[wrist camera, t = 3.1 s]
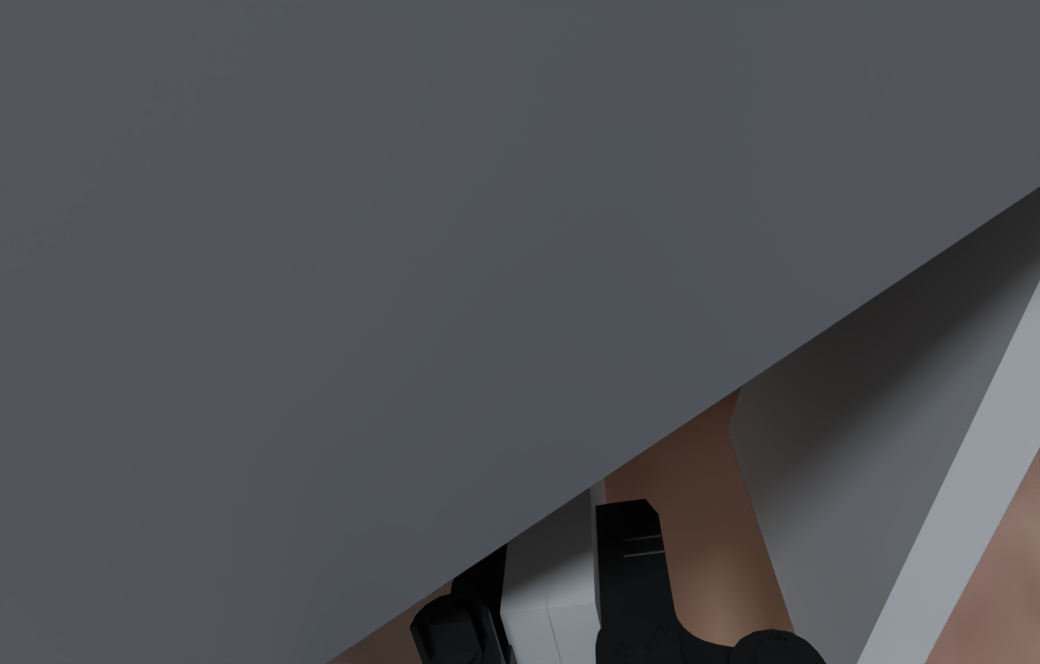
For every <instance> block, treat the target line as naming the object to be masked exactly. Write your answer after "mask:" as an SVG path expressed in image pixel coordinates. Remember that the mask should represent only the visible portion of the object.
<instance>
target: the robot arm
mask: <svg viewBox="0 0 1040 664" xmlns="http://www.w3.org/2000/svg"><path fill="white" fill-rule="evenodd" d="M410 630H411V633H412V636H413V638H414V641H415V644H416V646H417V649H418V652H419V655H420V657H421V660H422V663H423V664H826V662H825V661H824V659H823V658H822V657H821V655H820V654H819V652H818V651H817V650H816V649H815V648H814V647H813V646H812V645H811V644H810V643H809V642H808V641H807V640H805V639H803V638H801V637H799V636H797V635H795V634H793V633H791V632H787V631H781V630H774V629H769V630H762V631H755V632H753V633H751V634H749V635H747V636H745V637H743V638H741V639H740V640H739V642H738V643H737V644H736V645H735V647H729V646H723V645H717V644H714V643H710V642H706V641H703V640H701V639H699V638H697V637H695V636H693V635H692V634H691V633H689V632H688V631H687V630H686V629H685V628H684V627H683V626H682V625H681V623H680V622H679V620H678V619H677V616H676V613H675V610H674V604H673V598H672V592H671V586H670V580H669V574H668V568H667V562H666V556H665V550H664V544H663V539H662V533H661V527H660V521H659V515H658V513H657V512H656V511H655V510H654V509H653V507H652V506H651V505H650V504H649V503H648V502H647V500H646V499H640V500H633V501H625V502H618V503H610V504H607V502H606V488H605V482H604V478H603V479H602V480H600V481H599V482H597V483H596V484H594V485H593V486H591V487H590V488H588V489H587V490H585V491H584V492H582V493H581V494H579V495H578V496H576V497H575V498H573V499H572V500H570V501H569V502H567V503H566V504H564V505H563V506H561V507H560V508H558V509H557V510H555V511H554V512H552V513H551V514H549V515H548V516H546V517H545V518H543V519H542V520H540V521H539V522H537V523H536V524H534V525H533V526H531V527H530V528H528V529H527V530H525V531H524V532H522V533H521V534H519V535H518V536H516V537H515V538H513V539H512V540H510V541H509V542H507V543H506V544H504V545H503V546H501V547H500V548H498V549H497V550H495V551H494V552H492V553H491V554H489V555H488V556H486V557H485V558H483V559H482V560H480V561H479V562H477V563H476V564H474V565H473V566H471V567H470V568H468V569H467V570H465V571H464V572H462V573H461V574H459V575H458V576H456V577H455V578H454V581H453V582H452V588H451V593H450V594H448V595H444V596H440V597H438V598H437V599H435V600H433V601H431V602H430V603H428V604H426V605H425V606H424V607H423V608H422V609H421V610H420V611H419V612H418V613H417V614H416V616H415V618H414V620H413V622H412V624H411V626H410Z"/></svg>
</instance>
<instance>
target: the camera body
mask: <svg viewBox="0 0 1040 664" xmlns="http://www.w3.org/2000/svg"><path fill="white" fill-rule="evenodd" d="M1038 187H1040V0H0V664H326V663H328V662H329V661H331V660H332V659H334V658H335V657H337V656H338V655H340V654H341V653H343V652H344V651H346V650H347V649H349V648H350V647H352V646H353V645H355V644H356V643H358V642H359V641H361V640H362V639H364V638H365V637H367V636H368V635H370V634H371V633H373V632H374V631H376V630H377V629H379V628H380V627H382V626H383V625H385V624H386V623H388V622H389V621H391V620H392V619H394V618H395V617H397V616H398V615H400V614H401V613H403V612H404V611H406V610H407V609H409V608H410V607H412V606H413V605H415V604H416V603H418V602H419V601H421V600H422V599H424V598H425V597H427V596H428V595H430V594H431V593H433V592H434V591H436V590H437V589H438V588H440V587H441V586H443V585H444V584H446V583H447V582H449V581H450V580H452V579H453V578H455V577H456V576H458V575H459V574H461V573H462V572H464V571H465V570H467V569H468V568H470V567H471V566H473V565H474V564H476V563H477V562H479V561H480V560H482V559H483V558H485V557H486V556H488V555H489V554H491V553H492V552H494V551H495V550H497V549H498V548H500V547H501V546H503V545H504V544H506V543H507V542H509V541H510V540H512V539H513V538H515V537H516V536H518V535H519V534H521V533H522V532H524V531H525V530H527V529H528V528H530V527H531V526H533V525H534V524H536V523H537V522H539V521H540V520H542V519H543V518H545V517H546V516H548V515H549V514H551V513H552V512H554V511H555V510H557V509H558V508H560V507H561V506H563V505H564V504H566V503H567V502H569V501H570V500H572V499H573V498H575V497H576V496H578V495H579V494H581V493H582V492H584V491H585V490H587V489H588V488H590V487H591V486H593V485H594V484H596V483H597V482H599V481H600V480H602V479H603V478H605V477H606V476H608V475H609V474H611V473H612V472H614V471H615V470H617V469H618V468H619V467H621V466H622V465H624V464H625V463H627V462H628V461H630V460H631V459H633V458H634V457H636V456H637V455H639V454H640V453H642V452H643V451H645V450H646V449H648V448H649V447H651V446H652V445H654V444H655V443H657V442H658V441H660V440H661V439H663V438H664V437H666V436H667V435H669V434H670V433H672V432H673V431H675V430H676V429H678V428H679V427H681V426H682V425H684V424H685V423H687V422H688V421H690V420H691V419H693V418H694V417H696V416H697V415H699V414H700V413H702V412H703V411H705V410H706V409H708V408H709V407H711V406H712V405H714V404H715V403H717V402H718V401H720V400H721V399H723V398H724V397H726V396H727V395H729V394H730V393H732V392H733V391H735V390H736V389H738V388H739V387H741V386H742V385H744V384H745V383H747V382H748V381H750V380H751V379H753V378H754V377H756V376H757V375H759V374H760V373H762V372H763V371H765V370H766V369H768V368H769V367H771V366H772V365H774V364H775V363H777V362H778V361H780V360H781V359H783V358H784V357H786V356H787V355H789V354H790V353H792V352H793V351H795V350H796V349H798V348H799V347H801V346H802V345H803V344H805V343H806V342H808V341H809V340H811V339H812V338H814V337H815V336H817V335H818V334H820V333H821V332H823V331H824V330H826V329H827V328H829V327H830V326H832V325H833V324H835V323H836V322H838V321H839V320H841V319H842V318H844V317H845V316H847V315H848V314H850V313H851V312H853V311H854V310H856V309H857V308H859V307H860V306H862V305H863V304H865V303H866V302H868V301H869V300H871V299H872V298H874V297H875V296H877V295H878V294H880V293H881V292H883V291H884V290H886V289H887V288H889V287H890V286H892V285H893V284H895V283H896V282H898V281H899V280H901V279H902V278H904V277H905V276H907V275H908V274H910V273H911V272H913V271H914V270H916V269H917V268H919V267H920V266H922V265H923V264H925V263H926V262H928V261H929V260H931V259H932V258H934V257H935V256H937V255H938V254H940V253H941V252H943V251H944V250H946V249H947V248H949V247H950V246H952V245H953V244H955V243H956V242H958V241H959V240H961V239H962V238H964V237H965V236H967V235H968V234H970V233H971V232H973V231H974V230H976V229H977V228H979V227H980V226H982V225H983V224H985V223H986V222H987V221H989V220H990V219H992V218H993V217H995V216H996V215H998V214H999V213H1001V212H1002V211H1004V210H1005V209H1007V208H1008V207H1010V206H1011V205H1013V204H1014V203H1016V202H1017V201H1019V200H1020V199H1022V198H1023V197H1025V196H1026V195H1028V194H1029V193H1031V192H1032V191H1034V190H1035V189H1037V188H1038Z"/></svg>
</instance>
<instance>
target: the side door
mask: <svg viewBox="0 0 1040 664" xmlns="http://www.w3.org/2000/svg"><path fill="white" fill-rule="evenodd" d="M727 432H728V435H729V438H730V441H731V444H732V447H733V450H734V453H735V456H736V459H737V462H738V465H739V468H740V471H741V474H742V477H743V480H744V483H745V485H746V488H747V491H748V494H749V497H750V500H751V503H752V506H753V509H754V512H755V515H756V518H757V521H758V524H759V527H760V530H761V533H762V536H763V539H764V542H765V545H766V548H767V551H768V554H769V557H770V560H771V563H772V566H773V569H774V572H775V575H776V578H777V581H778V584H779V587H780V590H781V593H782V596H783V599H784V602H785V605H786V608H787V611H788V614H789V617H790V620H791V623H792V626H793V629H794V632H795V635H797V636H799V637H801V638H803V639H805V640H807V641H808V642H809V643H810V644H811V645H812V646H813V647H814V648H815V649H816V650H817V651H818V652H819V654H820V655H821V657H822V658H823V659H824V661H825V662H826V664H924V663H925V661H926V659H927V658H928V656H929V654H930V652H931V650H932V648H933V646H934V644H935V643H936V641H937V639H938V637H939V635H940V633H941V631H942V629H943V628H944V626H945V624H946V622H947V620H948V618H949V616H950V614H951V613H952V611H953V609H954V607H955V605H956V603H957V601H958V599H959V598H960V596H961V594H962V592H963V590H964V588H965V586H966V584H967V583H968V581H969V579H970V577H971V575H972V573H973V571H974V569H975V568H976V566H977V564H978V562H979V560H980V558H981V556H982V554H983V553H984V551H985V549H986V547H987V545H988V543H989V541H990V539H991V538H992V536H993V534H994V532H995V530H996V528H997V526H998V524H999V523H1000V521H1001V519H1002V517H1003V515H1004V513H1005V511H1006V509H1007V508H1008V506H1009V504H1010V502H1011V500H1012V498H1013V496H1014V494H1015V493H1016V491H1017V489H1018V487H1019V485H1020V483H1021V481H1022V479H1023V478H1024V476H1025V474H1026V472H1027V470H1028V468H1029V466H1030V464H1031V463H1032V461H1033V459H1034V457H1035V455H1036V453H1037V451H1038V449H1039V448H1040V187H1038V188H1037V189H1035V190H1034V191H1032V192H1031V193H1029V194H1028V195H1026V196H1025V197H1023V198H1022V199H1020V200H1019V201H1017V202H1016V203H1014V204H1013V205H1011V206H1010V207H1008V208H1007V209H1005V210H1004V211H1002V212H1001V213H999V214H998V215H996V216H995V217H993V218H992V219H990V220H989V221H987V222H986V223H985V224H983V225H982V226H980V227H979V228H977V229H976V230H974V231H973V232H971V233H970V234H968V235H967V236H965V237H964V238H962V239H961V240H959V241H958V242H956V243H955V244H953V245H952V246H950V247H949V248H947V249H946V250H944V251H943V252H941V253H940V254H938V255H937V256H935V257H934V258H932V259H931V260H929V261H928V262H926V263H925V264H923V265H922V266H920V267H919V268H917V269H916V270H914V271H913V272H911V273H910V274H908V275H907V276H905V277H904V278H902V279H901V280H899V281H898V282H896V283H895V284H893V285H892V286H890V287H889V288H887V289H886V290H884V291H883V292H881V293H880V294H878V295H877V296H875V297H874V298H872V299H871V300H869V301H868V302H866V303H865V304H863V305H862V306H860V307H859V308H857V309H856V310H854V311H853V312H851V313H850V314H848V315H847V316H845V317H844V318H842V319H841V320H839V321H838V322H836V323H835V324H833V325H832V326H830V327H829V328H827V329H826V330H824V331H823V332H821V333H820V334H818V335H817V336H815V337H814V338H812V339H811V340H809V341H808V342H806V343H805V344H803V345H802V346H801V347H799V348H798V349H796V350H795V351H793V352H792V353H790V354H789V355H787V356H786V357H784V358H783V359H781V360H780V361H778V362H777V363H775V364H774V365H772V366H771V367H769V368H768V369H766V370H765V371H763V372H762V373H760V374H759V375H757V376H756V377H754V378H753V379H751V380H750V381H748V382H747V383H745V384H744V385H742V386H741V388H740V392H739V395H738V398H737V401H736V404H735V408H734V411H733V414H732V417H731V421H730V424H729V427H728V430H727Z"/></svg>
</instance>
